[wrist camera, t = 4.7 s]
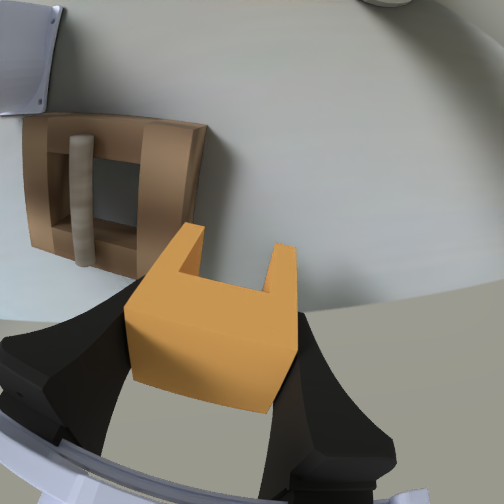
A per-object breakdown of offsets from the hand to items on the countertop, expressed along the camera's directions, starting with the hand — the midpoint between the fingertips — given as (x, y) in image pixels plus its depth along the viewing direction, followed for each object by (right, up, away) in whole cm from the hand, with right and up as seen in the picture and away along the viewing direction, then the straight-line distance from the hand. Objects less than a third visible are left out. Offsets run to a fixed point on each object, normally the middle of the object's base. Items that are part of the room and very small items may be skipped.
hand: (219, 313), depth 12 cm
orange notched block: (0, +2, +3) cm, 3 cm away
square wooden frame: (-9, +8, +8) cm, 15 cm away
